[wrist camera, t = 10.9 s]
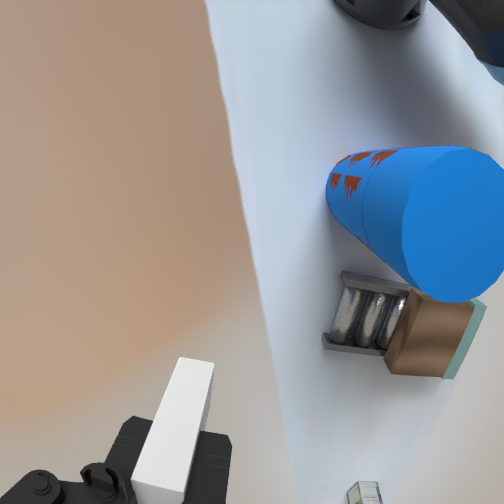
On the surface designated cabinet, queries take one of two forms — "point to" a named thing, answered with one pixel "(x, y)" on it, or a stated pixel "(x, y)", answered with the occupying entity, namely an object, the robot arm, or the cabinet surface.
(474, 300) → the stop block
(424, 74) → the cabinet surface
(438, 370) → the slab
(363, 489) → the syrup box
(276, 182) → the cabinet surface
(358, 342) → the roller bed
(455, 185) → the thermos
